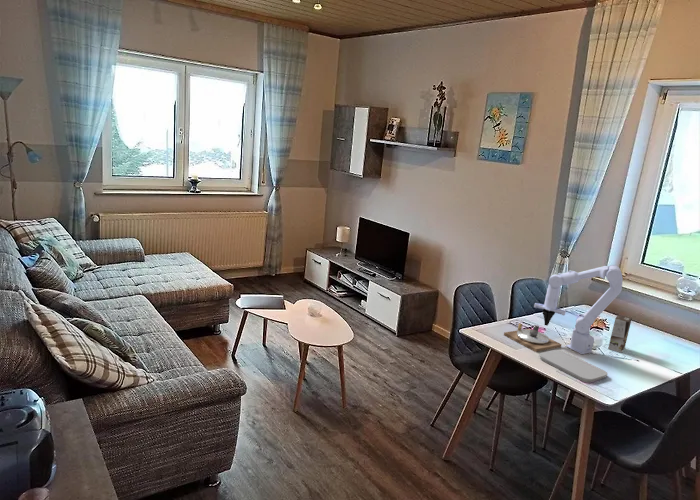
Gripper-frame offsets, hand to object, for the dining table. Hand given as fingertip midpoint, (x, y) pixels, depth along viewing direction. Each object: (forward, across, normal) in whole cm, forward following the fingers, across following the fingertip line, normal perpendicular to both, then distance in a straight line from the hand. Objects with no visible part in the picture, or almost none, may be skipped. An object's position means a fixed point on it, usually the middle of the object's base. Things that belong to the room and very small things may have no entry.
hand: (546, 324), depth 249 cm
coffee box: (+8, +30, +20) cm, 37 cm away
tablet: (+9, +18, -22) cm, 30 cm away
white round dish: (+7, -4, -6) cm, 10 cm away
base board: (+8, -4, -6) cm, 11 cm away
